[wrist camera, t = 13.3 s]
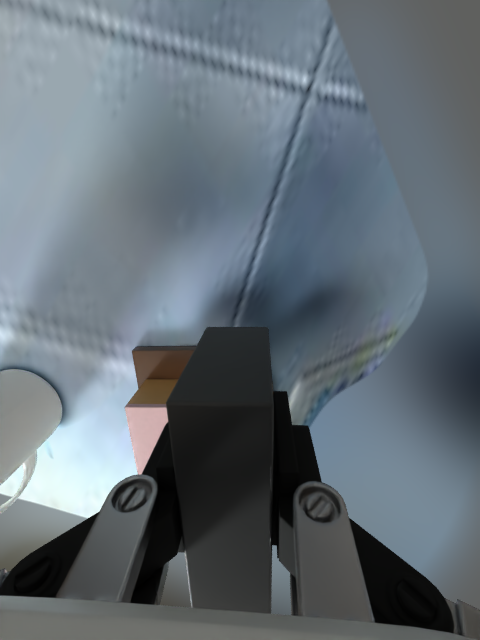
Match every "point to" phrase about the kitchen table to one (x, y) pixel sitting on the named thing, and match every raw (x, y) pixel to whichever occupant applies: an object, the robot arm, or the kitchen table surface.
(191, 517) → the dark block with blade
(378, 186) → the kitchen table surface
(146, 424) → the block
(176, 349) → the cake board
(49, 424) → the mug
